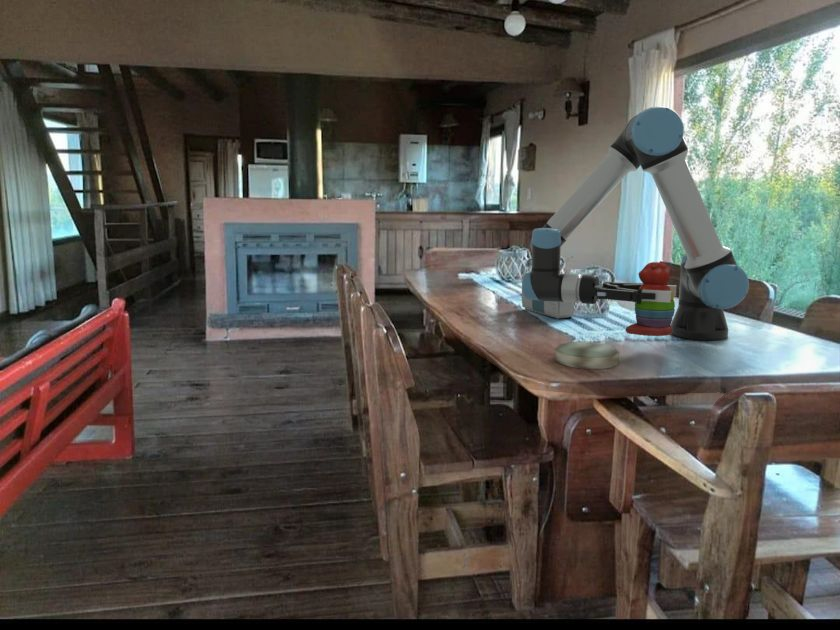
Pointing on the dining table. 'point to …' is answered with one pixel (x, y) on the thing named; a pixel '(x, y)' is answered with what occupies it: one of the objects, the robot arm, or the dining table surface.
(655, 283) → the stacking bear
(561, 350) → the stand
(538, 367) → the dining table surface
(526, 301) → the stereo radio cassette player
